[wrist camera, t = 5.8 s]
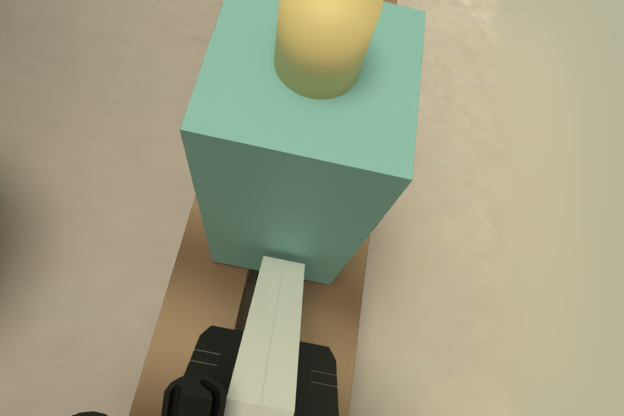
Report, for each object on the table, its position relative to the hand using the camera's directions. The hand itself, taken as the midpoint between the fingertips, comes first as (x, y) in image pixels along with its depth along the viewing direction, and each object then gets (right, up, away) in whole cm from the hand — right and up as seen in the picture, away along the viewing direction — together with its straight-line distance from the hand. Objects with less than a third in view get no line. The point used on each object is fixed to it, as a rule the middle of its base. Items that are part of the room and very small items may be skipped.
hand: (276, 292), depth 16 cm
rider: (0, +2, +5) cm, 5 cm away
